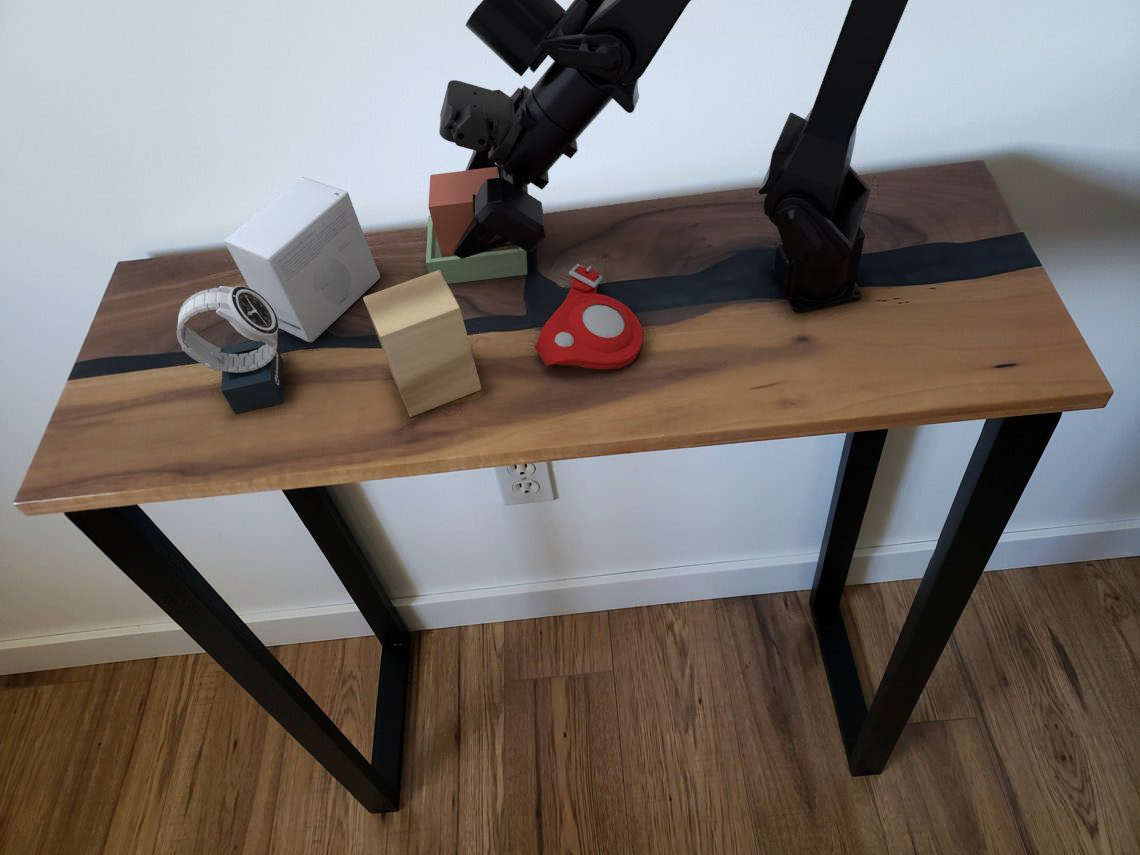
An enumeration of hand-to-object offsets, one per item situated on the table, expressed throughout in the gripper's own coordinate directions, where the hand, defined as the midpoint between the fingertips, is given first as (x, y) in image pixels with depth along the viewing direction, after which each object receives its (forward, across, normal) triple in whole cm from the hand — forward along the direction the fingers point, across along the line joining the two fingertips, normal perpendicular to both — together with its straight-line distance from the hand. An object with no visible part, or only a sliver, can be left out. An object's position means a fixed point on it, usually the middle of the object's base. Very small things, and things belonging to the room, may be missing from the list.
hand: (458, 226), depth 85 cm
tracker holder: (-6, +12, +12) cm, 18 cm away
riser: (+5, +17, +1) cm, 17 cm away
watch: (+16, +14, -10) cm, 24 cm away
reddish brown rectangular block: (+1, 0, +3) cm, 3 cm away
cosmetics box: (+13, +4, -7) cm, 15 cm away
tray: (+2, 0, +4) cm, 4 cm away
